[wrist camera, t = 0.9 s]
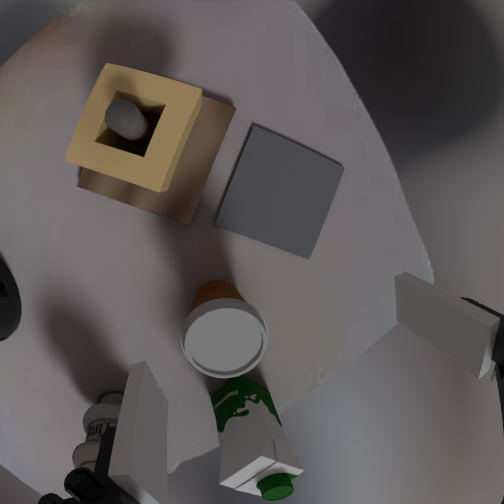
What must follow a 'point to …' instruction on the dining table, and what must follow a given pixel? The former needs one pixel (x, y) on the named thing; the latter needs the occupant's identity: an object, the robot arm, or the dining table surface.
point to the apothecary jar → (97, 426)
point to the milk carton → (253, 441)
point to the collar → (145, 99)
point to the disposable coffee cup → (223, 332)
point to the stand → (188, 167)
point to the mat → (279, 193)
